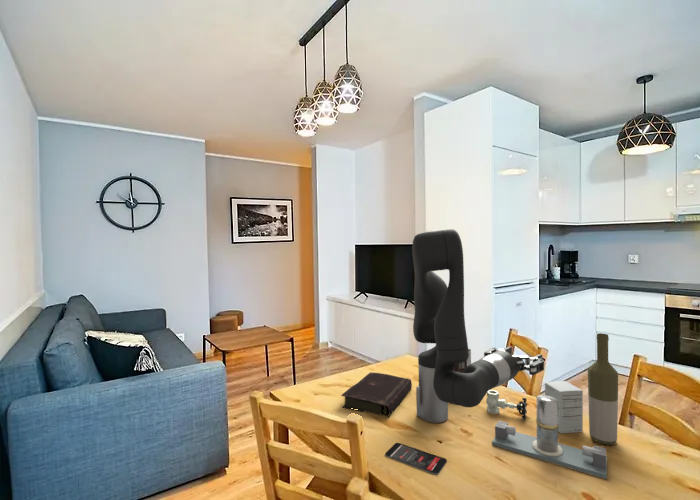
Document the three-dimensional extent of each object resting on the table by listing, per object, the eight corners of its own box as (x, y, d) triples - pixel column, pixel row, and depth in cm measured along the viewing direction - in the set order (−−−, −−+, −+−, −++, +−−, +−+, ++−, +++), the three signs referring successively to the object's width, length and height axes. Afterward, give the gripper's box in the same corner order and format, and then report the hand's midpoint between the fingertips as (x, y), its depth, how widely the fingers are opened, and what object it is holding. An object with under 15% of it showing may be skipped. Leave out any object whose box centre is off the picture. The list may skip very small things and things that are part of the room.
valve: (484, 414, 118) (525, 423, 112) (484, 394, 118) (525, 402, 112) (488, 406, 124) (527, 414, 118) (488, 387, 124) (526, 394, 118)
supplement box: (544, 421, 112) (543, 381, 112) (566, 420, 113) (566, 380, 113) (560, 434, 105) (559, 391, 105) (583, 432, 106) (583, 389, 106)
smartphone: (437, 474, 88) (383, 454, 96) (437, 477, 88) (383, 457, 96) (447, 459, 94) (396, 441, 102) (448, 462, 94) (396, 444, 102)
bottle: (609, 450, 97) (608, 339, 96) (582, 437, 103) (582, 333, 102) (624, 443, 100) (623, 335, 99) (597, 431, 106) (596, 330, 106)
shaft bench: (492, 444, 100) (492, 429, 100) (500, 430, 108) (499, 416, 107) (606, 479, 85) (606, 461, 85) (607, 460, 92) (606, 443, 92)
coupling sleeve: (534, 448, 96) (534, 400, 95) (538, 439, 100) (538, 393, 99) (556, 455, 93) (556, 405, 92) (559, 445, 97) (559, 398, 96)
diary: (412, 391, 139) (412, 378, 139) (389, 420, 117) (389, 405, 117) (368, 382, 147) (368, 370, 147) (339, 408, 125) (339, 394, 125)
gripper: (523, 362, 86) (552, 346, 96) (470, 347, 97) (501, 335, 107) (523, 392, 86) (552, 374, 96) (470, 375, 97) (501, 360, 107)
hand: (525, 353), depth 102 cm, fingers open, 8 cm apart
